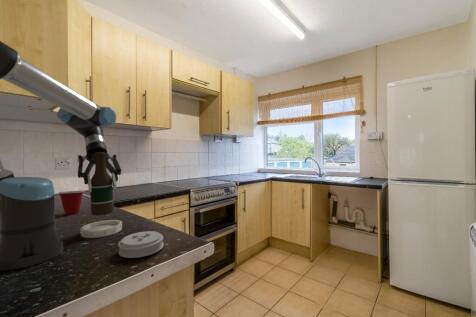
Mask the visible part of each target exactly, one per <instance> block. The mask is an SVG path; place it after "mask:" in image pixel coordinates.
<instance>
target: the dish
mask: <svg viewBox="0 0 476 317" xmlns="http://www.w3.org/2000/svg"><path fill="white" fill-rule="evenodd" d="M122 230H123V221H122V220H119V219H108V220H100V221H95V222H92V223H91V222H90V223H88V224H85V225H83V226H81V227H80V229H79V233H80V237H82V238H84V239H97V238H103V237H108V236H112V235H116V234H117V233H119V232H121V231H122Z"/></svg>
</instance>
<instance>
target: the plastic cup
mask: <svg viewBox="0 0 476 317" xmlns="http://www.w3.org/2000/svg"><path fill="white" fill-rule="evenodd" d="M84 192H85V190H68V191H67V190H65V191H58V194H59V197H60V200H61V204H62V205H61V206H62V208H63V212H64V215H65V216H73V215H79V213H80V208H81V205H82V204H81V203H82V199H83V195H84Z"/></svg>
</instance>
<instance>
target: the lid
mask: <svg viewBox="0 0 476 317" xmlns="http://www.w3.org/2000/svg"><path fill="white" fill-rule="evenodd" d="M163 239H164V235H163V234H161V233H160V232H158V231H155V230H154V231H153V230H151V231H150V230H149V231H147V230H146V231H139V232H135V233H134V232H133V233H131V234H129V235H126V236H125V237H123V238H122V239H121V240H119V242H118V244H117V245H118V247H119V250H118V255H119V256H120V257H121V258H122V257H123V258H128V259H130V258H131V259H132V258H142V257H146V256H150V255H153V254H155V253H158V252H159V251H160V250H162V249H163V247H164V242H163Z"/></svg>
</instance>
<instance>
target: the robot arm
mask: <svg viewBox="0 0 476 317" xmlns="http://www.w3.org/2000/svg"><path fill="white" fill-rule="evenodd" d="M0 80H4V81H5V82H8V83H10V84H12V85H14V86H16V87H18V88H19V89H22V90H24V91H26V92H28V93H31V94H32V95H34V96H36V97H38V98H39V99H43V100H44V101H46V102H48V103H51V104H52V105H54V106H56V107H58V108H59V109H58V111H57V113H56V118H58V119H59V120H60V121H61V122H62V123H63V124H65V125H66V126H68V127H70V128H71V129H72V130H74V131H75V132H77V133H78V134H80V135H81V136H83V138H84V145H85V151H86V152H85V153H86V155H81V154H79V155H78V156H77V162H78V167H77V168H78V169H77V178H78V179H79V178H80V179H81V178H82V179H83V183H84V185H87V186H88V193H90V192H91V191H92V186H91V178H92V177H91V174H90V173H91V172H92V169H93V167H95V159H96V156H95V153H96V152H105V154H106V155H105V162H106V169H107V171H108V172H109V174H111V175H110V177H111V179H112V184H113V190H117V186H118V184H117V182H118V181H119V180H118V179H119V176H120V175H122V167H121V166H120V163H119V162H118V160H117V154H113V155H111V154H109V153H108V149H107V144H106V140H105V136H104V128H103V127H108V126H113V125H115V123H116V122H117V113H116V111H115V109H113V108H111V107H110V106H100V105H98V104H97V103H95V102H93V101H92V100H90V99H88V98H87V97H85V96H84V95H82V94H80V93H79V92H77V91H75V90H73V89H72V88H71V87H69V86H67V85H66V84H64V83H62V82H60V80H58V79H56V78H54V77H53V76H51V75H50V74H48V73H46V72H45V71H43V70H41V69H40V68H38V67H37V66H34V65H33V64H32V63H29V61H27V60H25V59H23V58H22V57H20V54H19V52H18V51H17V50H16V49H14V48H13V47H11V46H9V45H8V44H6V43H4V42H3V41H1V40H0ZM86 160H87V161H88V162H89V163H88V164H87V165H86V168H85V170H84V172H83V168H84V162H85V161H86ZM109 160H110V162H112V163H110V162H109ZM55 192H56V191H55V188H54V183H53V181H52V180H51V179H49V178H45V177H41V176H40V177H39V176H17V177H15V174H14V172H13V170H9V169H6V168H5V167H4V165H3V162H2V160H1V159H0V271H12V270H13V271H14V270H17V269H24V268H29V267H31V266H35V265H39V264H41V263H44V262H48V261H49V260H51V259H54V258H56V257H58V256H59V255H60V254H62V253H63V251H64V242H63V240H61V236H60V235H59V232H58V230H57V227H56V214H55V213H56V211H55Z"/></svg>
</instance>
